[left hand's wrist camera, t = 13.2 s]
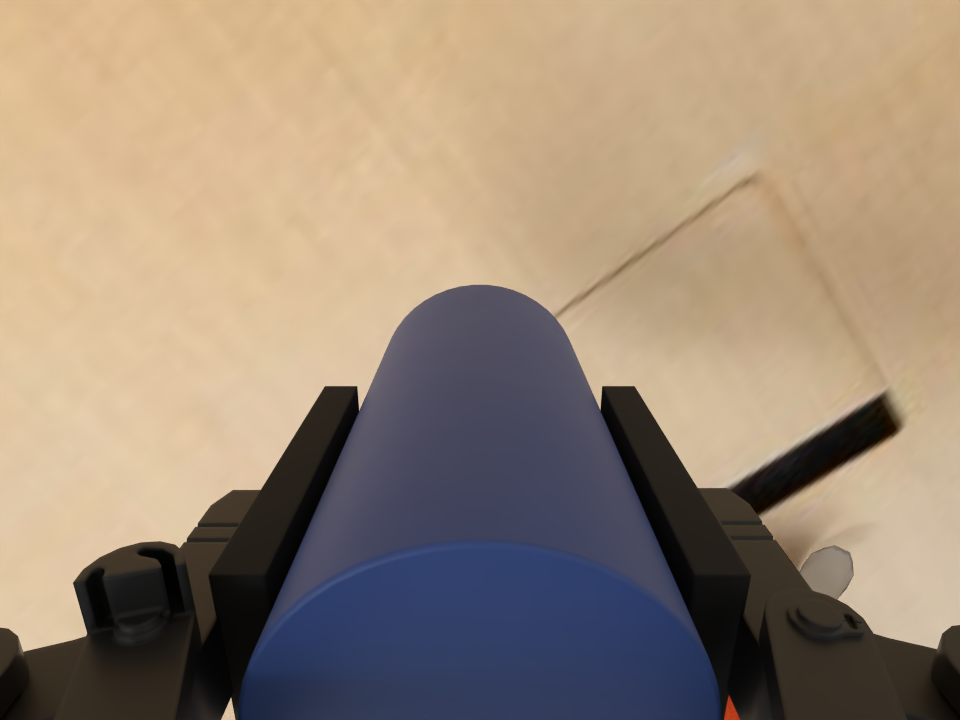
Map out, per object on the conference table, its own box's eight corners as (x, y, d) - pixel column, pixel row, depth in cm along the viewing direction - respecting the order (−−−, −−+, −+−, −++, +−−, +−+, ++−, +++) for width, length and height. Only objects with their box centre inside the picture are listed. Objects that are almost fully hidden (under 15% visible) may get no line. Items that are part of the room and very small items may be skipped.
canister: (452, 244, 17) (399, 446, 6) (615, 354, 18) (830, 696, 7) (348, 401, 18) (155, 790, 7) (503, 493, 19) (534, 949, 9)
